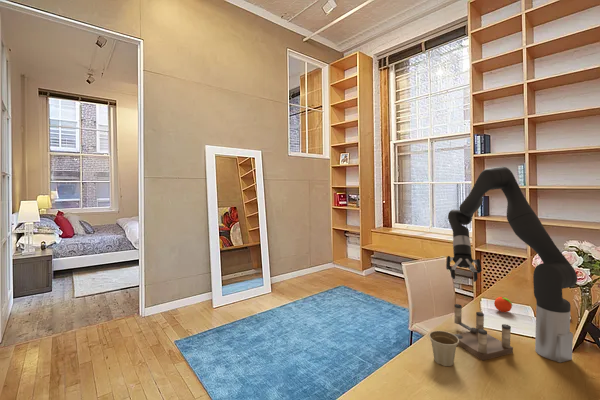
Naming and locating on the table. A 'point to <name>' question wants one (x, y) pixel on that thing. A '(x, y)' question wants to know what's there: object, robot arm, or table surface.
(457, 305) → the swing leg
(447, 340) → the flower pot
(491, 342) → the stool
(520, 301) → the table surface
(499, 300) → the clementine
